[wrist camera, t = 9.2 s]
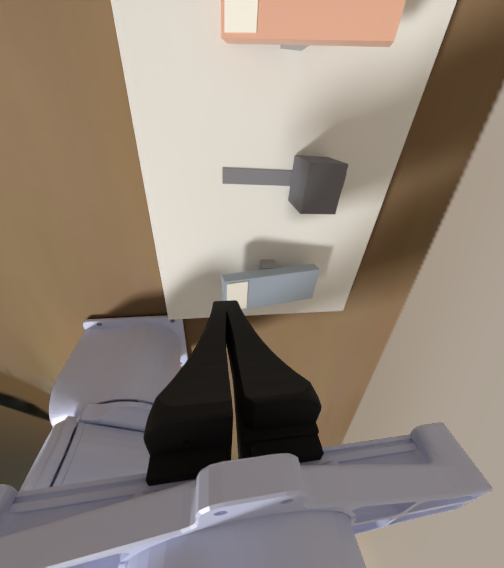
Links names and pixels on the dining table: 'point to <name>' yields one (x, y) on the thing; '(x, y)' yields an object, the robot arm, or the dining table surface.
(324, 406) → the dining table surface
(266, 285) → the plate
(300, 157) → the block
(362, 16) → the pink plate with label
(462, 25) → the dining table surface
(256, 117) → the switch panel
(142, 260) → the dining table surface
